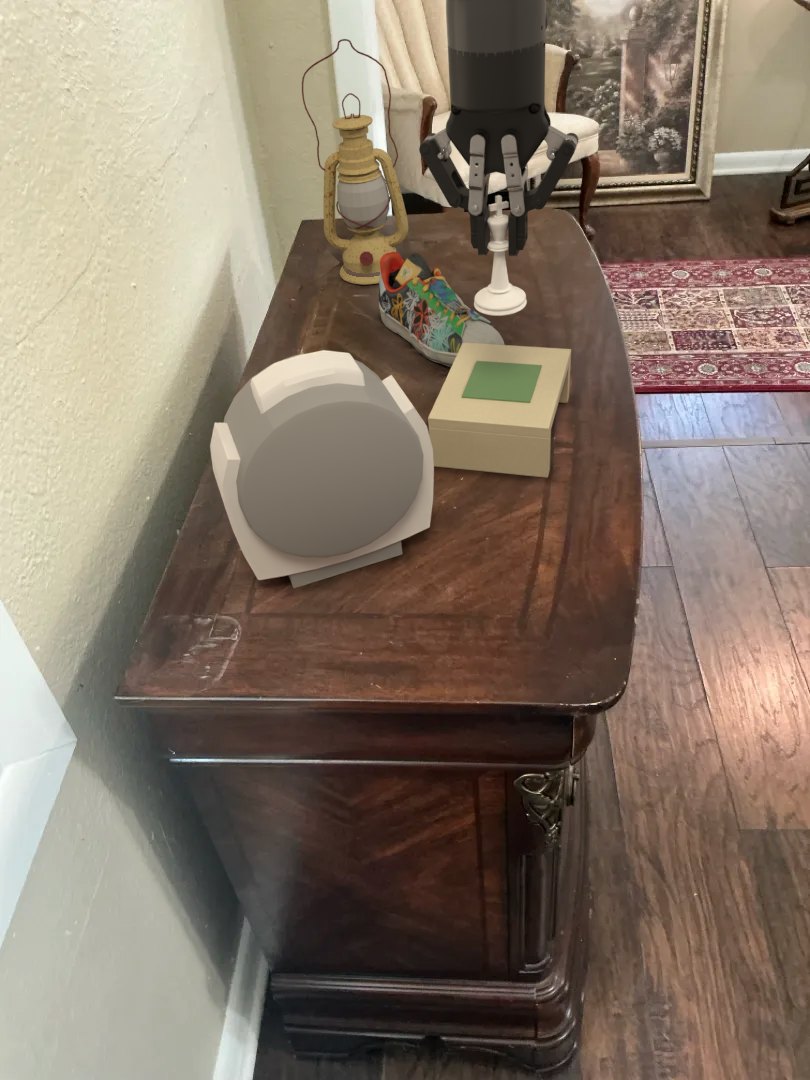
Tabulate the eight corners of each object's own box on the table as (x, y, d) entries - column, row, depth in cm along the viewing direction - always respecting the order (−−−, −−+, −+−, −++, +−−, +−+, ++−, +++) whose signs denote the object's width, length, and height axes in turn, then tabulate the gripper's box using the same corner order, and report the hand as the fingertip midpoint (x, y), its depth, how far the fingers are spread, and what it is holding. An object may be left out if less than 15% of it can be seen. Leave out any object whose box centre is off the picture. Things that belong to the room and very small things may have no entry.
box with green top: (569, 396, 97) (571, 347, 93) (547, 478, 86) (548, 426, 82) (464, 388, 100) (462, 340, 96) (432, 466, 89) (427, 416, 85)
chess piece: (535, 308, 80) (536, 199, 73) (485, 320, 79) (482, 211, 72) (514, 287, 83) (513, 181, 77) (466, 298, 82) (461, 192, 76)
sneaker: (471, 385, 100) (466, 308, 94) (364, 326, 114) (354, 254, 107) (519, 361, 103) (517, 284, 97) (409, 306, 117) (402, 235, 110)
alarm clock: (414, 500, 85) (394, 314, 72) (446, 553, 79) (431, 360, 66) (238, 554, 82) (181, 368, 69) (257, 613, 76) (199, 422, 62)
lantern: (327, 290, 122) (288, 54, 102) (333, 260, 130) (298, 34, 110) (411, 284, 121) (389, 44, 101) (412, 254, 129) (392, 25, 109)
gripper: (396, 50, 65) (414, 268, 77) (581, 45, 62) (571, 274, 73) (421, 26, 71) (435, 233, 82) (593, 19, 67) (582, 237, 79)
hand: (499, 251), depth 78 cm, fingers closed on chess piece
